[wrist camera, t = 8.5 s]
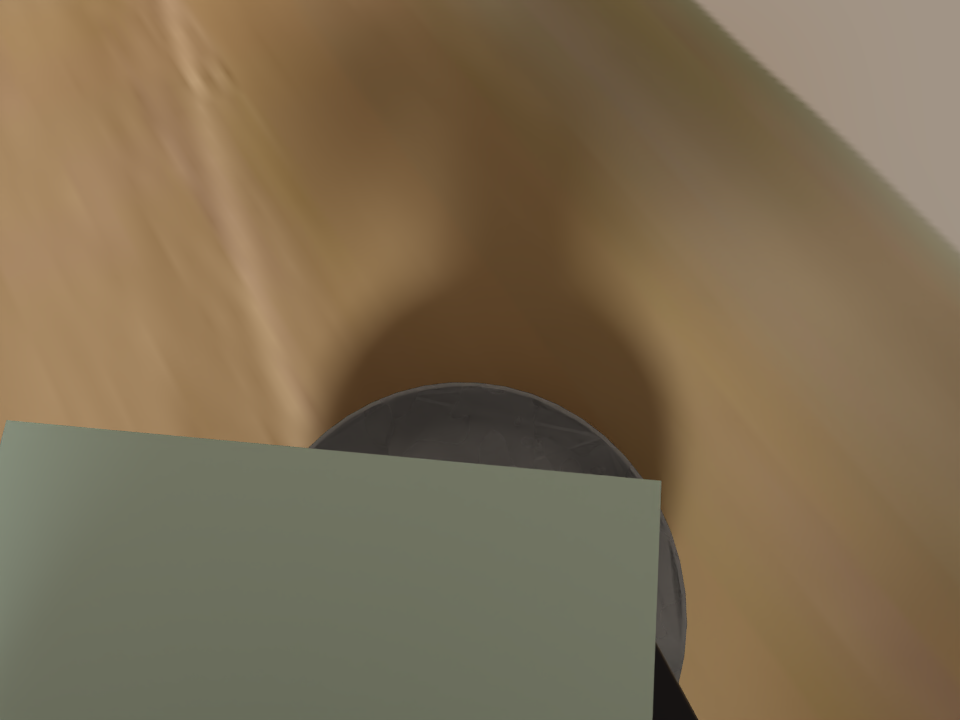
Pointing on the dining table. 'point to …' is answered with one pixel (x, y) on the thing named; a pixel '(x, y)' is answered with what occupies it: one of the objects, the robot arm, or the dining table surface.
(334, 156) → the dining table surface
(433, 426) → the charcoal tin
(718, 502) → the dining table surface
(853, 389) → the dining table surface
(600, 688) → the sage block
